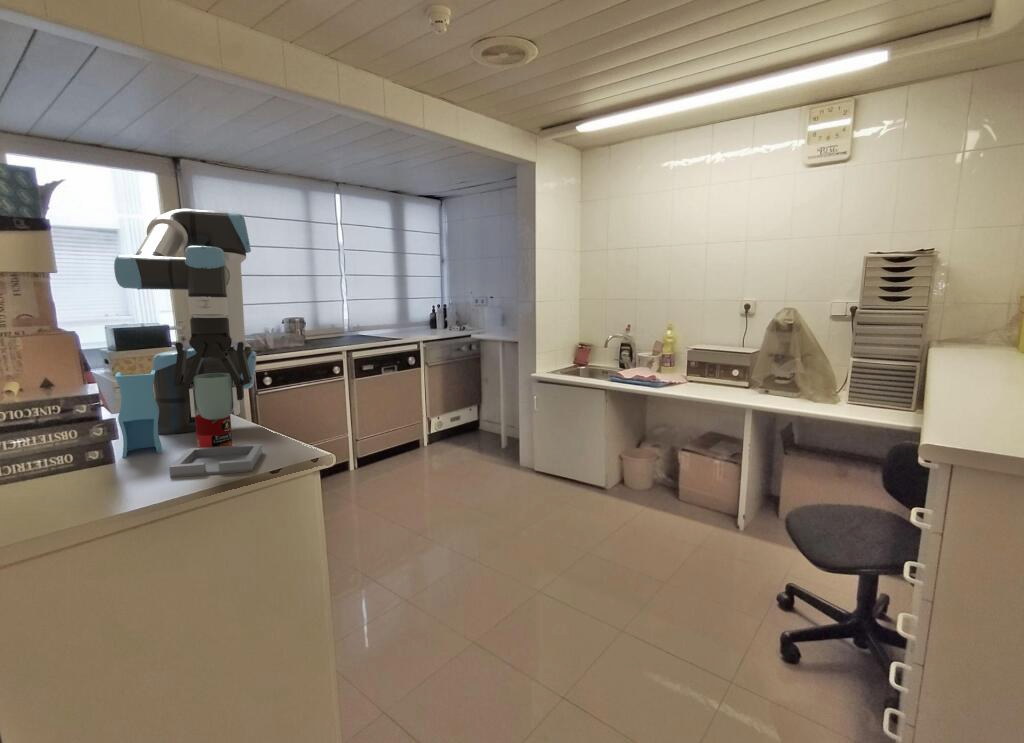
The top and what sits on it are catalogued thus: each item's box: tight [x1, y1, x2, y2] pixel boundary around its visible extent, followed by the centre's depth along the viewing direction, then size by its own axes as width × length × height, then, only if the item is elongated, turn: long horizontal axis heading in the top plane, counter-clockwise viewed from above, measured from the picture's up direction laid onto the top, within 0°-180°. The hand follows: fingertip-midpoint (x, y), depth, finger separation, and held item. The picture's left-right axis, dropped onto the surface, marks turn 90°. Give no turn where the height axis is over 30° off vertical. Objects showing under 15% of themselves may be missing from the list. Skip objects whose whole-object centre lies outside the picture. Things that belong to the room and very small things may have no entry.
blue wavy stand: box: [114, 369, 163, 459], centre depth 125 cm, size 8×8×20 cm
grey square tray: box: [169, 443, 263, 478], centre depth 117 cm, size 14×16×2 cm
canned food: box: [195, 414, 233, 448], centre depth 128 cm, size 8×8×11 cm
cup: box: [194, 373, 234, 420], centre depth 115 cm, size 8×8×10 cm
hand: (216, 414), depth 116 cm, fingers closed on cup, 8 cm apart
